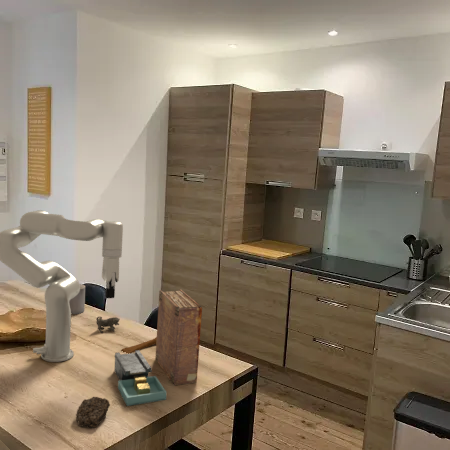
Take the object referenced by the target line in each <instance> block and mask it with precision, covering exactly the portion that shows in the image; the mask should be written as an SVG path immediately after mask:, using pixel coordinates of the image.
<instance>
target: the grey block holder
mask: <svg viewBox="0 0 450 450" xmlns="http://www.w3.org/2000/svg"><path fill="white" fill-rule="evenodd" d="M114 353H115V354H114V373H115V375H116V376H117V378H118V381H120V380H128V379H134V376H144V375H145V377H149V373H153V370H152V366H151V365H150V364H149V362H148V361H147V359H146V358H145V356H144V355H143V353H142V352H141V350H137V351H135V352H133V353H130V354H125V353H123V354H121V353H120V352H114Z"/></svg>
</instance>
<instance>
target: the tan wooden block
mask: <svg viewBox="0 0 450 450" xmlns="http://www.w3.org/2000/svg"><path fill="white" fill-rule="evenodd" d="M146 381H147V379H146V377H145V375H144V376H134V386H133V387H134V389H135V391H136V389H137V384H141V383H146Z"/></svg>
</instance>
